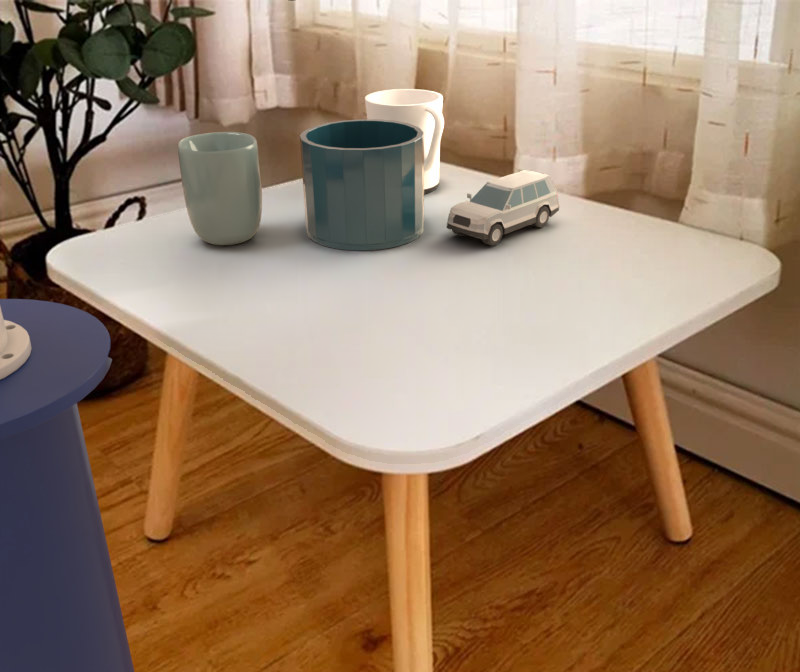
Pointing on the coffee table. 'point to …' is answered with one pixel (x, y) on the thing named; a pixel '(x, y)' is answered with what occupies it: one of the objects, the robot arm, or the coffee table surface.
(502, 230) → the toy car
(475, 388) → the coffee table surface
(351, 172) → the teal plant pot
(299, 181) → the coffee table surface
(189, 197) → the cup
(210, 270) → the coffee table surface
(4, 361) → the robot arm
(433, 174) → the mug
